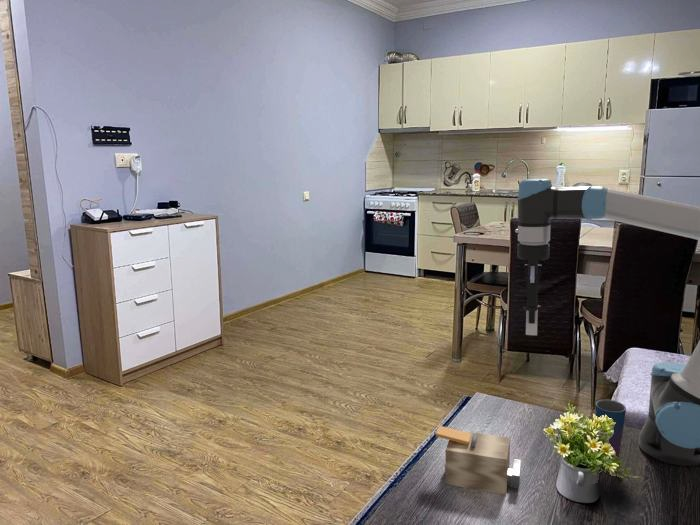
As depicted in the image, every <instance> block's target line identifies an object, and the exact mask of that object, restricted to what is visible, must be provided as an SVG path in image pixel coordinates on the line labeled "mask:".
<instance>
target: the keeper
mask: <svg viewBox="0 0 700 525" xmlns="http://www.w3.org/2000/svg"><path fill="white" fill-rule="evenodd" d="M436 430H437V431H436V432H435V437H436V438H441V439H444V440H448V441H449V440H452V441H455V442H459V443H463V444H467V445H469V442H470V438H471V434H470V433H466V432H462V431H463V430H460V431H459V429H454V428H452V427H451V428H450V427H446V426H443V425H438V428H437V429H436ZM477 437H478V435H477V434H473V438H472V441H471V447H475V445H476V441H477Z"/></svg>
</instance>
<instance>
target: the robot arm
mask: <svg viewBox="0 0 700 525" xmlns="http://www.w3.org/2000/svg"><path fill="white" fill-rule="evenodd" d="M552 219H556V220H557V219H567V220H568V219H570V220H571V219H572V220H575V219H576V220H596V219H597V220H598V219H605V220H609V221H614V222H619V223H623V224H627V225H632V226H635V227H639V228H640V227H641V228H644V229H648V230H653V231H658V232H663V233H667V234H672V235H676V236H680V237H684V238H688V239H689V238H690V239H693V240H697V241H700V206H698V205H694V204H693V205H692V204H687V203H683V202H679V201H672V200H668V199H667V200H666V199H664V198H658V197H654V196H647V195H643V194H638V193H633V192H628V191H623V190H619V189H615V188H614V189H613V188H609V187H608V188H606V187H605V186H598V185H593V184H591V183H589V182H583V181H582V182H576V183H575V184H573V185H572V186H563V187H562V186H553V184H552V180H551V179H549V178H529V179H527V178H526V179H523V180H521V181H520V182H519V183H518V197H517V228H516V229H515V230H514V232H515V233H517V241H518V243H517V250H516V256H517V258H518V259H519V260H523V261H524V260H525V261H527V264H524V268H523V269H524V270H523V271H524V272H523V273H524V277H525V278H524V279H525V281H524V283H525V285H526V306H525V307H523V311H526V312H525V316H526V317H525V335H526V336H538V320H539V319H538V317H539V316H538V314H539V313H538V310H539V309H541V305H539V304H538V303H539V302H538V301H539V300H538V291H539V290H538V288H539V287H538V286H539V285H540V283H541V274H542V264H539V261H545V260H548V259H549V258H550V250H551V249H550V247H551V246H550V243H549V242H550V241H551V220H552ZM650 376H651V377H650V391H649V392H650V393H649V401H648V402H649V405H648V415H647V416H648V417H647V418H646V420H645V422H644V425H643V426H642V428H641V430H640V432H639V435H638V447H639V448H640V449H641V450H642V451H643V453H645V454H646V455H648V456H649V457H652V458H653V459H656V460H658V461H659V462H660V461H661V462H663V463H667V464H669V465H670V464H671V465H675V466H676V465H677V466H683V467H685V466H686V467H693V466H698V465H700V340H699V341H698V343H697V344H696V347H695V348H694V350H693V352H692V353H691V356H690V357H689V360H688V361H687V363H686V364H683V363H677V362H658V363H655V364H654V365H653V366H652V369H651V373H650Z"/></svg>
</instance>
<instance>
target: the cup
mask: <svg viewBox="0 0 700 525" xmlns="http://www.w3.org/2000/svg"><path fill="white" fill-rule="evenodd" d="M626 412H627V408H626V405H625V404H623V403H622V402H620V401H617V400H614V399H613V400H612V399H599V400H597V401H596V402H595V417H596V416H598V417H600V416H601V415H605V414H606V415H607V416H608V417H609V418H612V419H613V420H614V421H615V422H616V424H615V426H614V434H613V436H612V437H611V438H610V439H609V443H610V444H611V446H612V447H613V448H614V450H615V452H616V456H617V457H618V458H619V459H620V452H621V448H622V446H621V445H622V441H623V440H622V439H623V433H624V432H623V431H624V425H625V419H626V418H625V417H626Z"/></svg>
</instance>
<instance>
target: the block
mask: <svg viewBox="0 0 700 525" xmlns="http://www.w3.org/2000/svg"><path fill="white" fill-rule="evenodd" d="M458 430H459V429H458ZM459 431H462V432H466V433H470V434H471V438H470V442H469V445H467V444H463V443H459V442H455V441H452V440H448V441H447V442H448V443H447V445H446V447H445V463H446V475H445V485H449V486H454V487H459V488H460V487H461V488H465V489H471V490H477V491H482V492H488V493H492V494H493V493H494V494H498V495H504V496H506V495H507V490H508V486H507V472H508V468H510V463H511V462H510V458H511V456H510V455H511V437H507V436H500V435H492V434H487V433H481V432H479V433H478V432H472V431H467V430H459ZM473 434H477V435H478V437H477V441H476V445H475V447H471V441H472V438H473Z"/></svg>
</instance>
